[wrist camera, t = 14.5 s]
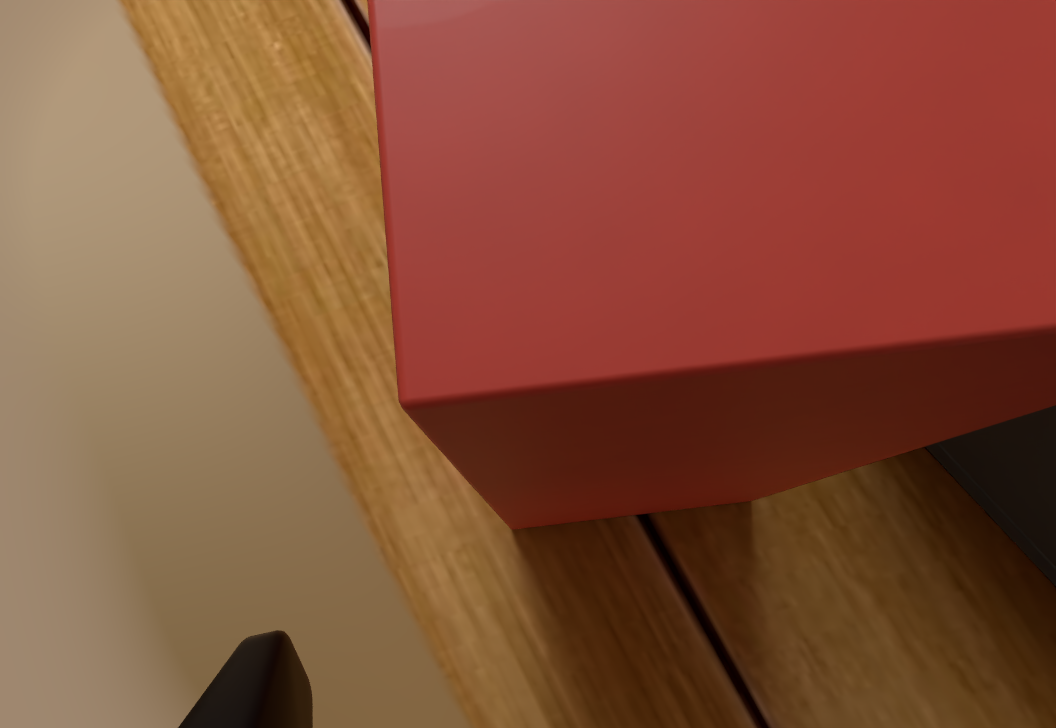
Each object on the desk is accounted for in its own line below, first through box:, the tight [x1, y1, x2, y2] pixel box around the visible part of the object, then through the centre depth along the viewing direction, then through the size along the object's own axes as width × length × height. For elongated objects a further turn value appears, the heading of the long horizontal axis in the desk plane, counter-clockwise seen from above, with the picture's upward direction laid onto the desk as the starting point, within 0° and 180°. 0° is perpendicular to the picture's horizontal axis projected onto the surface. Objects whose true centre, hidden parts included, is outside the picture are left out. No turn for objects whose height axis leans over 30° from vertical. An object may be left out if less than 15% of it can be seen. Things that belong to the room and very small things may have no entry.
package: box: [367, 0, 1056, 530], centre depth 11 cm, size 6×5×13 cm
